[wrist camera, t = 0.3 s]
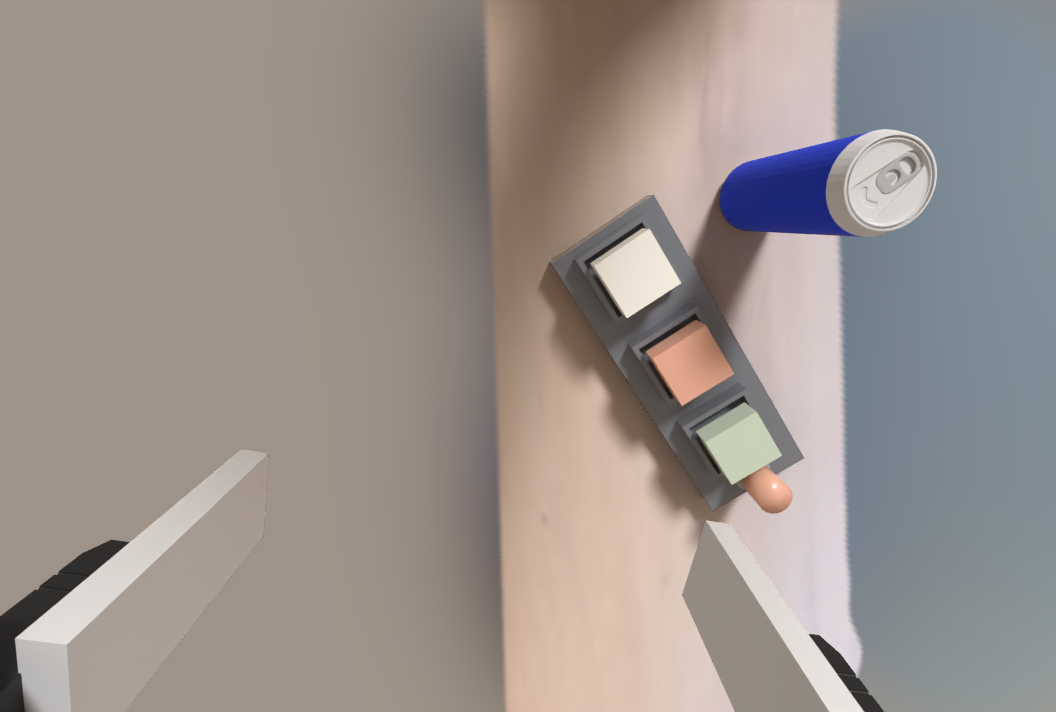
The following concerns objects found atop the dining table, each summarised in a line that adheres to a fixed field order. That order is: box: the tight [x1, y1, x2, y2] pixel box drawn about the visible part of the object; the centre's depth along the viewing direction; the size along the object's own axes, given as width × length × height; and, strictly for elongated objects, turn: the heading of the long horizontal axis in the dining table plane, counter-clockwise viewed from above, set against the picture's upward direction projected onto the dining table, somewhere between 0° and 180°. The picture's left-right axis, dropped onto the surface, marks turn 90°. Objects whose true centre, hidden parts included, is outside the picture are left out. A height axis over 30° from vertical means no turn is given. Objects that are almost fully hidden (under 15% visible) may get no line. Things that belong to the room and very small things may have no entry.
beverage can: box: [720, 129, 937, 237], centre depth 31 cm, size 5×5×15 cm
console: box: [550, 195, 804, 513], centre depth 39 cm, size 26×9×7 cm, turn 34°
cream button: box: [590, 228, 681, 318], centre depth 35 cm, size 4×4×2 cm
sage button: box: [696, 402, 782, 485], centre depth 39 cm, size 4×4×2 cm
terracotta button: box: [646, 320, 734, 406], centre depth 37 cm, size 4×4×2 cm
